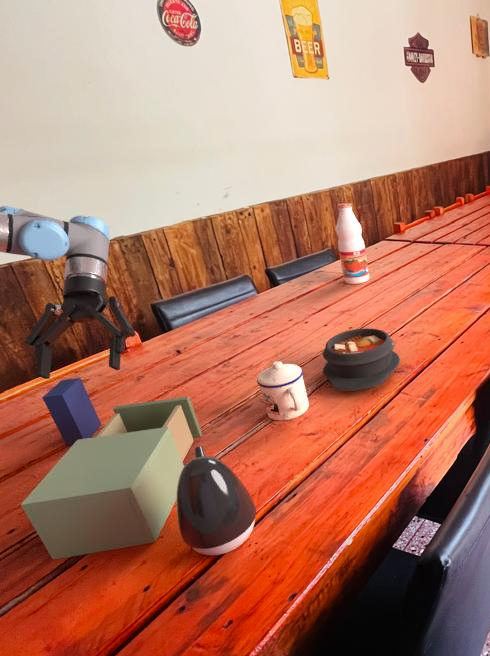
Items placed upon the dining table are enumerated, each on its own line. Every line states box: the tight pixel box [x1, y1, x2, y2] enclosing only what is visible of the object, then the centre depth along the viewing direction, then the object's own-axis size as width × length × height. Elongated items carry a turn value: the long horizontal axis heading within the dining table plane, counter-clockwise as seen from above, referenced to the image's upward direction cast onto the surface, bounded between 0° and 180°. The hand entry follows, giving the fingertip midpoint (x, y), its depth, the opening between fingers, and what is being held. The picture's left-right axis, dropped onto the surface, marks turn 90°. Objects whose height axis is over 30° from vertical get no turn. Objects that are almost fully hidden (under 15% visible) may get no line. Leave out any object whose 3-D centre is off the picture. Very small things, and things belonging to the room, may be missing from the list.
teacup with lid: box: [256, 360, 310, 421], centre depth 107 cm, size 12×9×12 cm
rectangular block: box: [42, 377, 102, 447], centre depth 104 cm, size 4×7×12 cm, turn 11°
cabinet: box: [20, 427, 185, 560], centre depth 82 cm, size 16×14×11 cm
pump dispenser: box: [176, 445, 257, 556], centre depth 75 cm, size 10×10×15 cm
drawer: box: [95, 396, 203, 463], centre depth 95 cm, size 19×13×9 cm
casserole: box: [322, 327, 401, 392], centre depth 123 cm, size 25×19×8 cm
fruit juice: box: [335, 202, 370, 285], centre depth 185 cm, size 9×9×28 cm
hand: (79, 372), depth 107 cm, fingers open, 13 cm apart
